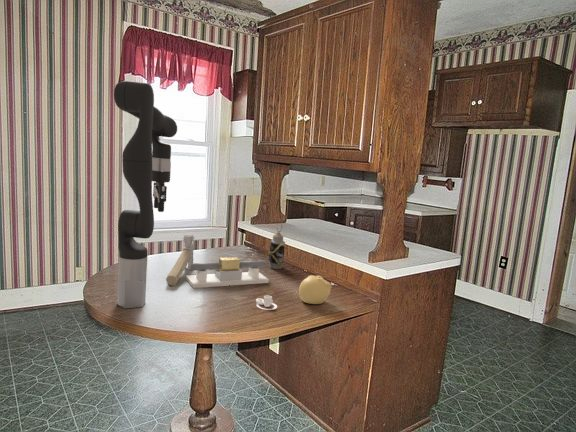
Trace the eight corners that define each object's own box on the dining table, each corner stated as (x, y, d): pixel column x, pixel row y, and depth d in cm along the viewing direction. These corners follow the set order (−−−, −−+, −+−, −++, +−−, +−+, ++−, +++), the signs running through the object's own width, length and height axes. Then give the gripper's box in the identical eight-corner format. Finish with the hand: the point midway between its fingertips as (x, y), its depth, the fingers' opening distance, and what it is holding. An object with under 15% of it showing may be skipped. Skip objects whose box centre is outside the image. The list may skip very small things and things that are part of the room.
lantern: (285, 269, 206) (290, 220, 203) (270, 269, 203) (275, 220, 199) (279, 264, 214) (284, 217, 211) (264, 264, 211) (269, 217, 207)
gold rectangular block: (238, 272, 180) (239, 259, 179) (221, 273, 176) (222, 260, 175) (235, 270, 183) (236, 257, 182) (218, 271, 179) (219, 257, 179)
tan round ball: (333, 304, 165) (336, 278, 163) (312, 309, 157) (315, 282, 155) (313, 294, 173) (316, 270, 172) (292, 299, 165) (295, 273, 164)
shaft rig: (268, 282, 183) (270, 264, 182) (193, 288, 167) (194, 267, 166) (257, 274, 194) (259, 257, 192) (185, 278, 177) (186, 259, 176)
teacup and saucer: (252, 302, 159) (253, 292, 158) (272, 301, 162) (273, 291, 161) (260, 311, 151) (261, 301, 150) (280, 310, 154) (281, 300, 153)
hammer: (177, 264, 164) (194, 233, 191) (165, 263, 163) (184, 232, 191) (177, 298, 169) (194, 263, 197) (166, 297, 169) (184, 262, 197)
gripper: (147, 167, 168) (146, 206, 170) (154, 170, 155) (152, 212, 158) (166, 168, 171) (164, 207, 174) (174, 171, 159) (172, 213, 161)
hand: (158, 209), depth 166 cm, fingers open, 8 cm apart
